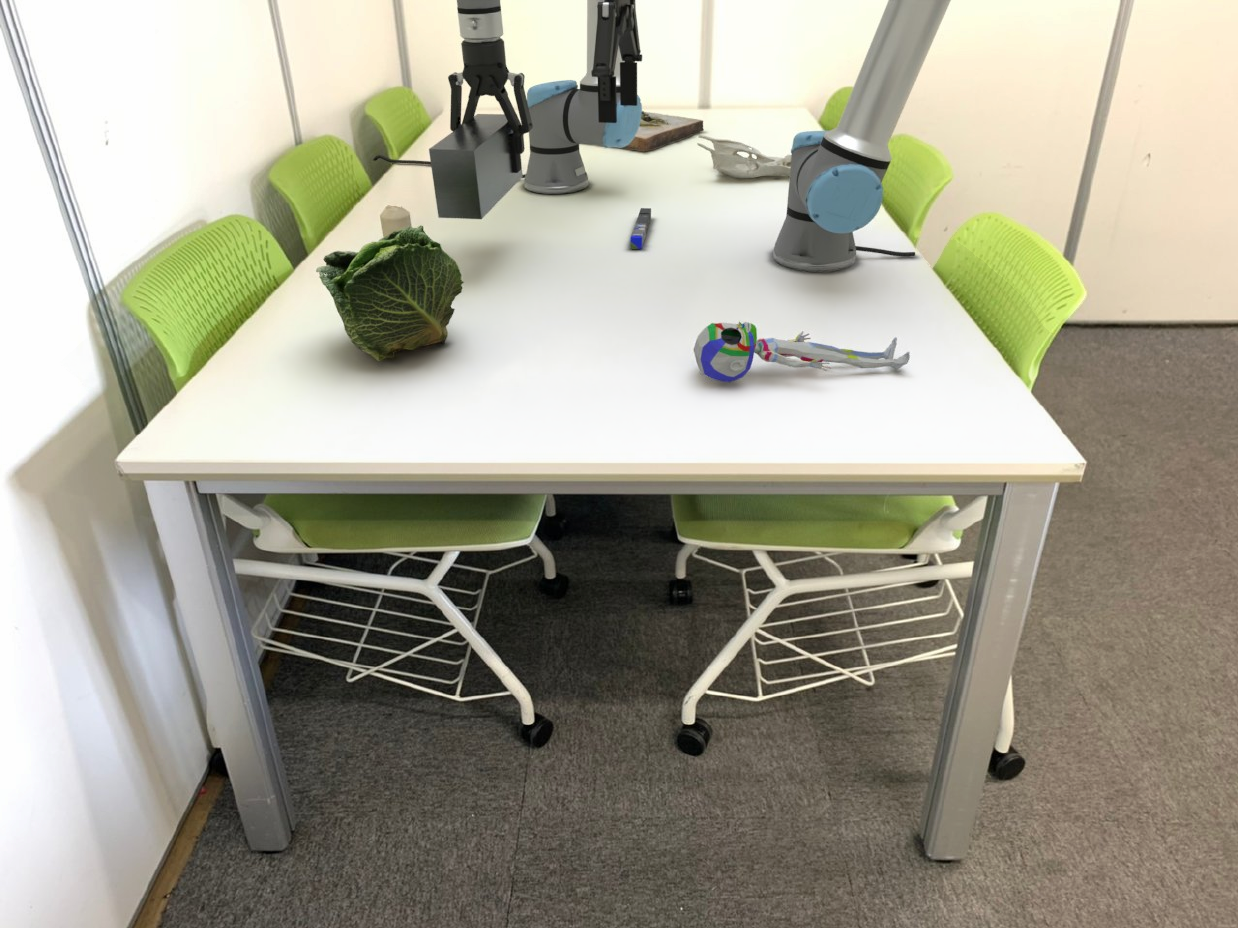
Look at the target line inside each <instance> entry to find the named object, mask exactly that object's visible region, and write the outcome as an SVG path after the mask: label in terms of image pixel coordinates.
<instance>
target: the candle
mask: <svg viewBox="0 0 1238 928" xmlns="http://www.w3.org/2000/svg"><path fill="white" fill-rule="evenodd" d="M379 220H380V225H381V231H382V238H383V237H385V236H387V235H389V234H391V233H393V232H395V231H400V230H404V229H405V228H407V227H410V226H412V217H411V213H410V212H409V210H407V209H405V208H404V207H403V206H397V205H387V206H385V207H384V209H383V210H382V211H381V213H380V214H379Z"/></svg>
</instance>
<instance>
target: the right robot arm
mask: <svg viewBox="0 0 1238 928" xmlns="http://www.w3.org/2000/svg"><path fill="white" fill-rule="evenodd" d="M951 1H952V0H888V1H887V3H886V6H885V8H884V10H883V12H882V15H881V18H880V20H879V23H878V25H877V27H876V29H875V33H874V35H873V38H872V40H871V43H870V45H869V48H868V50H867V52H866V55H865V57H864V60H863V62H862V64H861V68H860V70H859V73H858V75H857V77H856V80H855V83H854V85H853V86H852V87H853V88H852V90H851V92H850V94H849V97H848V100H847V102H846V104H845V107H844V108H843V112H842V114H841V116H840V120H839V122H838V124H837V126H835V128H833V129H831V130H808V131H801V132H798V133H797V134H795V136H794V137H793V140H792V146H791V149H790V153H791V155H792V156H791V167H790V176H789V179H788V193H787V205H786V216H785V218H784V221H783V224H782V226H781V228H780V230H779V233H778V234H777V235H778V236H777V238H776V241H775V242H774V247H773V257H772V258H773V260H774V261H775V262H776V263H777V264H780V265H781V266H784V267H786V268H788V269H793V270H796V271H801V272H802V271H803V272H813V273H826V272H827V273H828V272H835V271H841V270H845V269H847V268H849V267H851V266H853V265H854V264H855V263H856V259H857V258H856V256H857V252H867V253H875V254H881V255H887V256H893V257H901V258H902V257H905V258H908V257H915V256H916V252H915V251H895V250H888V249H882V248H876V247H875V248H874V247H868V246H859V245H856V241H855V236H854V232H855V231H858V230H860V229H863V228H864V227H866V226H867V225H868V224H870V222H872V221H873V220H874V219H875V217H876V216H877V215H878V213H879V211H880V210H881V207H882V204H883V199H884V188H883V183H882V182H883V180H884V178H885V175H886V173H887V171H888V169H889V167H890V164H891V163H892V160H893V157H892V155H891V152H890V149H889V143H890V140H891V138H892V136H893V134H894V132H895V129H896V127H897V125H898V122H899V120H900V118H901V116H902V114H903V111H904V109H905V106H906V104H907V102H908V100H909V97H910V95H911V92H912V90H913V88H914V85H915V83H916V82H917V79H918V77H919V74H920V72H921V69H922V67H923V65H924V62H925V61H926V59H927V56H928V54H929V51H930V49H931V46H932V44H933V42H934V40H935V37H936V35H937V33H938V31H939V29H940V26H941V24H942V21H943V19H944V17H945V15H946V12H947V11H948V8H949V6H950V3H951ZM636 9H637V8H636V0H604V2H598V5H597V30H596V41H595V52H594V63H593V70H592V71H591V74H592V77H597V78H598V117H599V122H600V123H616V122H617V96H616V76H614V71H615V65H616V59H617V52H618V46H619V49H620V54H621V58H622V61H625V62H620V105H627V106H637V95H638V63H639V62H640V63H641V62H642V61H643V53H642V54H641V51H642V50H641V45H640V36H639V27H638V26H639V25H638V17H637V10H636Z"/></svg>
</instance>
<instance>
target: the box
mask: <svg viewBox="0 0 1238 928" xmlns="http://www.w3.org/2000/svg"><path fill="white" fill-rule="evenodd" d="M513 134H514V133H513V131H512V129H511V127H510V124H509V121H507V119H506V117H505V114H504V113H476V114H475V115H474V118H472V119H471V120H468V121H467V122H466V123H464V124H463V125H462V126H460V127H459V128H457V129H456V130H455V131H451V132H450V133H449V134H448V135H446V136H445V137H443V138H442V139H440V140H439V141H438V142H437V143H435V144H434V145H432V146H431V147H430V148H429V149H428V153H429V159H430V162H431V165H430V167H431V174H432V181H433V188H434V197H435V203H436V210H437V217H438V218H439V219H462V220H482V219H483V218H485V217H486V215H487V214H488V213H489V212H490V211H491V210H492V209H493V208H494V207H496V205H497V204H498V203H499V202H500V201H501V200H502V199H503V198H504V196H506V195H507V194H508V193H509V192H510V191H511V190H512V189H513V187H515V185H516V184H517V183H518V182H519V181H520V180H521V179H523V178H522V177H523V176H522V175H523V166H522V163H521V170H520V171H519V172H518V173H514V170H513V160H512V149H511V138H510V137H511V136H512V135H513ZM520 158H521V159H522V154H520Z"/></svg>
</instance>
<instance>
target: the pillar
mask: <svg viewBox="0 0 1238 928" xmlns="http://www.w3.org/2000/svg"><path fill="white" fill-rule="evenodd" d="M651 219H652V208H650V207H649V208H648V207H640V209H639V212H638V215H637V217H636V221H635V224H634V227H633V230H632V232H631V235H630V250H637V249H638V250H642V249H643V246H644V244H645V243H644V242H645V240H646V236H647V233H648V229H649V226H650V222H651Z"/></svg>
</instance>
